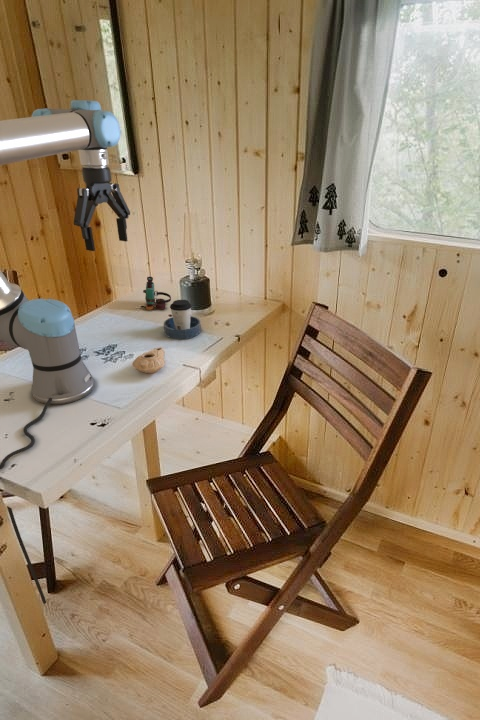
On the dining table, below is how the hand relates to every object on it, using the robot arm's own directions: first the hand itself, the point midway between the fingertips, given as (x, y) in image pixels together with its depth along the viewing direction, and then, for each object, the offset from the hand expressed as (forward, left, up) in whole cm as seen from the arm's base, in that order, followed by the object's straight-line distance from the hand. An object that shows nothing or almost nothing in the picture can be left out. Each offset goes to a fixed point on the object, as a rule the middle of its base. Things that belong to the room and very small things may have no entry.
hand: (107, 245), depth 141 cm
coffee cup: (+10, -17, -28) cm, 35 cm away
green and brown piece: (+25, +5, -29) cm, 38 cm away
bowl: (+10, -17, -28) cm, 35 cm away
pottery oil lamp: (-14, -25, -29) cm, 41 cm away
